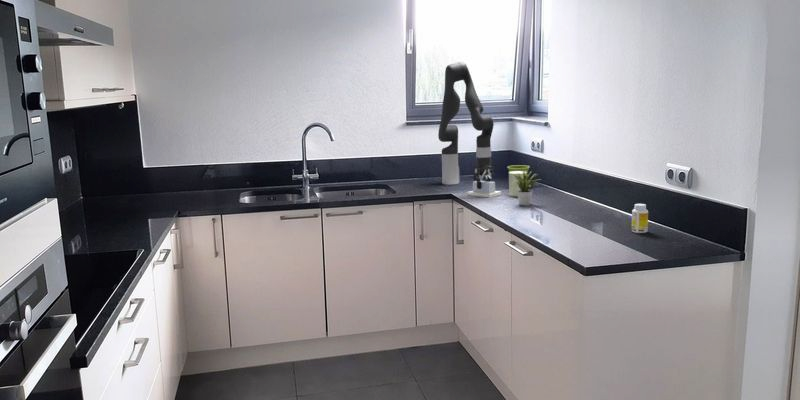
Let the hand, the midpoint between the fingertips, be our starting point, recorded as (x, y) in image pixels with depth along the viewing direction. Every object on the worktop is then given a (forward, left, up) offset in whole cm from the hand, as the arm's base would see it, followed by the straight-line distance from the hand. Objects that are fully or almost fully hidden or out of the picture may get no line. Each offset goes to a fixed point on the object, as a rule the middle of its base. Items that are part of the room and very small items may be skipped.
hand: (484, 187), depth 321 cm
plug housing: (0, 0, -2) cm, 2 cm away
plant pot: (-28, +3, -4) cm, 28 cm away
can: (-8, +15, -4) cm, 17 cm away
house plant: (+13, +31, -4) cm, 34 cm away
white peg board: (0, 0, -4) cm, 4 cm away
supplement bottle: (+36, +94, -4) cm, 101 cm away
